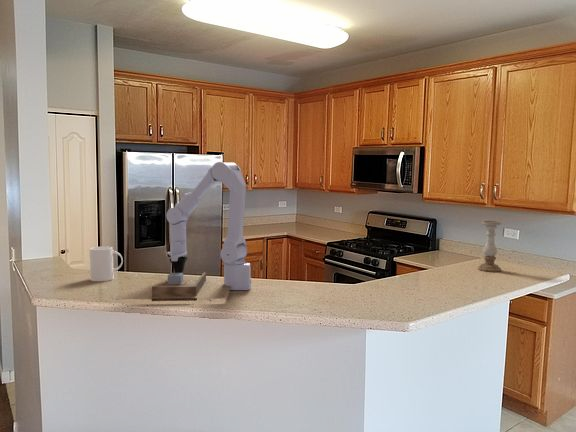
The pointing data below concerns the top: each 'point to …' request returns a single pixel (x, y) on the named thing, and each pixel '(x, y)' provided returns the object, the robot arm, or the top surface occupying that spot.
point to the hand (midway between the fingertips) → (179, 277)
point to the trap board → (178, 290)
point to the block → (175, 278)
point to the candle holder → (490, 248)
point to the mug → (102, 263)
